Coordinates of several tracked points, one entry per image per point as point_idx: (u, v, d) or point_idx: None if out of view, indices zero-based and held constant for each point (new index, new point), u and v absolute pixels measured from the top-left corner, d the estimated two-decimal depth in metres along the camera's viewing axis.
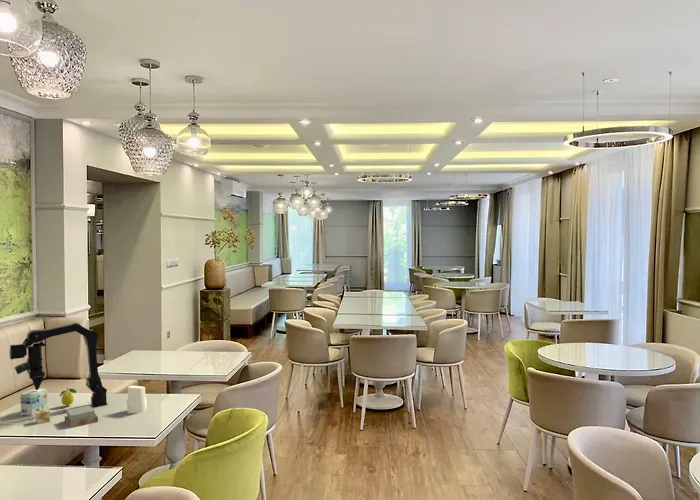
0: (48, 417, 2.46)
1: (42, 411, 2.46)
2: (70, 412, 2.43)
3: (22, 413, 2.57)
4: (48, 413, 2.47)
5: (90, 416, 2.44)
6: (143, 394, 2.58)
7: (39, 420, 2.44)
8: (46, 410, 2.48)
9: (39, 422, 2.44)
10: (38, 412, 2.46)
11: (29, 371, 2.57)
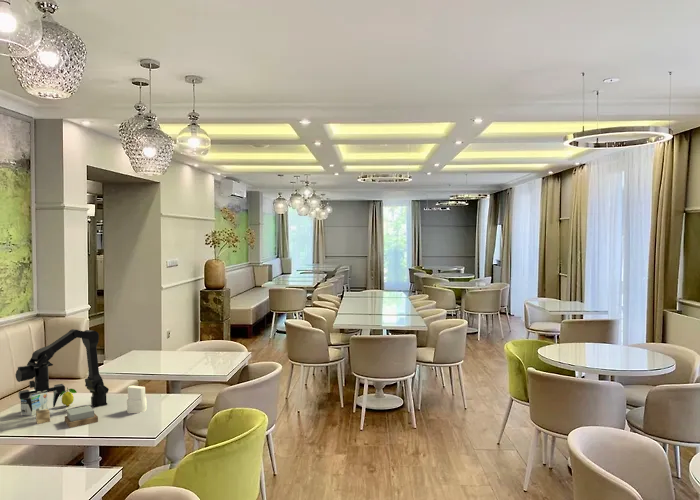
0: (48, 417, 2.46)
1: (42, 412, 2.46)
2: (70, 412, 2.43)
3: (22, 413, 2.57)
4: (48, 413, 2.47)
5: (90, 416, 2.44)
6: (143, 394, 2.58)
7: (39, 420, 2.44)
8: (46, 410, 2.48)
9: (39, 422, 2.44)
10: (38, 412, 2.46)
11: None
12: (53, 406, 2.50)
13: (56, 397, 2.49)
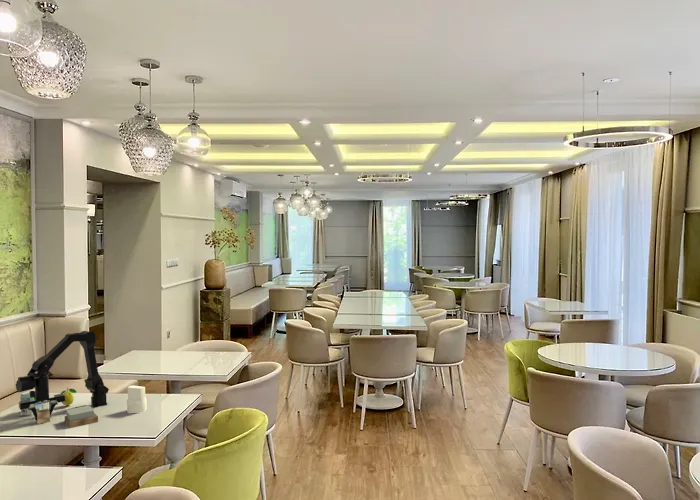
0: (48, 417, 2.47)
1: (42, 411, 2.46)
2: (69, 412, 2.43)
3: (22, 413, 2.57)
4: (48, 413, 2.47)
5: (89, 416, 2.44)
6: (143, 394, 2.58)
7: (39, 420, 2.44)
8: (46, 410, 2.48)
9: (39, 422, 2.44)
10: (38, 412, 2.46)
11: None
12: None
13: (52, 408, 2.48)
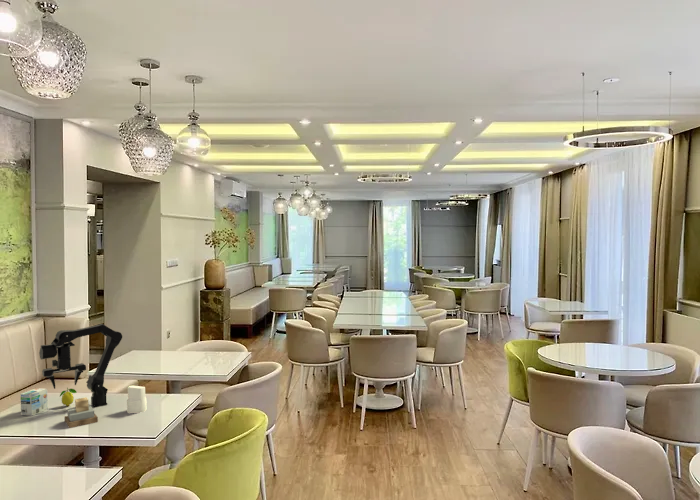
0: (86, 406, 2.45)
1: (81, 400, 2.45)
2: (70, 412, 2.43)
3: (22, 413, 2.57)
4: (87, 401, 2.45)
5: (90, 416, 2.44)
6: (143, 394, 2.58)
7: (78, 408, 2.43)
8: (85, 398, 2.47)
9: (78, 410, 2.43)
10: (77, 400, 2.45)
11: None
12: None
13: (77, 375, 2.61)
